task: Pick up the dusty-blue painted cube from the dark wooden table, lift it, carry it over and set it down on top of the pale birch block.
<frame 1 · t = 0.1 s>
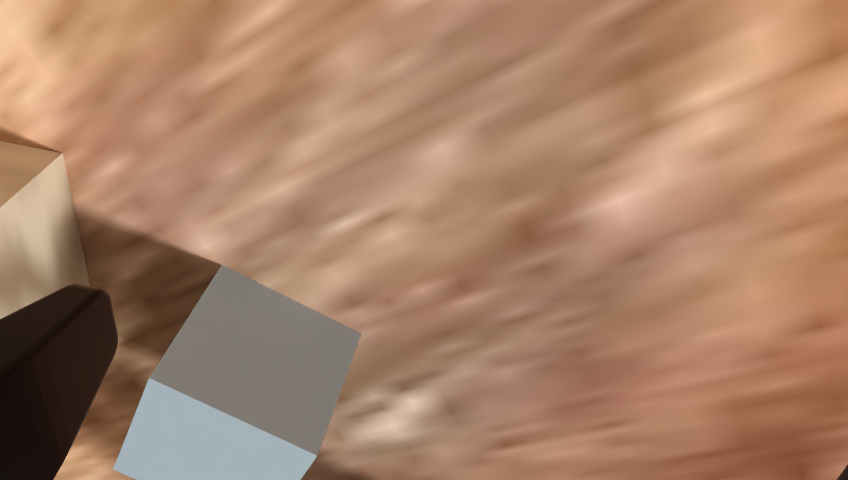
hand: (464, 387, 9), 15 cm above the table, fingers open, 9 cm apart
blue cube: (268, 343, 31), on the table
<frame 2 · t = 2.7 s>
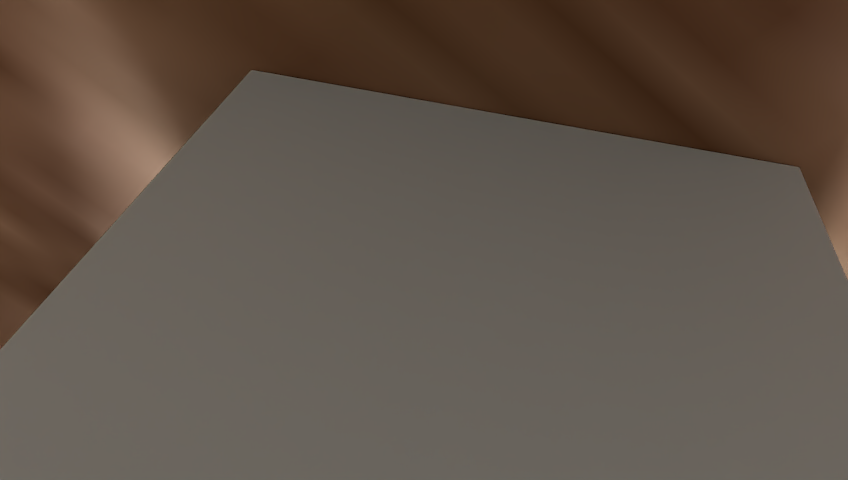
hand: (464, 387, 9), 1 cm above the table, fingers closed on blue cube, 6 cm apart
blue cube: (476, 318, 10), on the table, touching gripper
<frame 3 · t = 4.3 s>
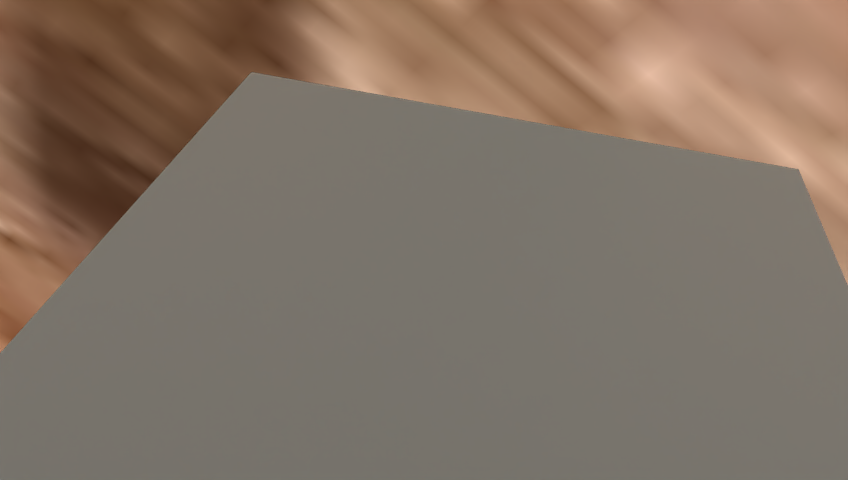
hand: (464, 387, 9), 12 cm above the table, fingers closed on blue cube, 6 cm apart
blue cube: (476, 319, 10), point 11 cm above the table, touching gripper
when the fingers open (7 cm above the table, at t = 6.1 s): blue cube drops 1 cm, resting on birch block.
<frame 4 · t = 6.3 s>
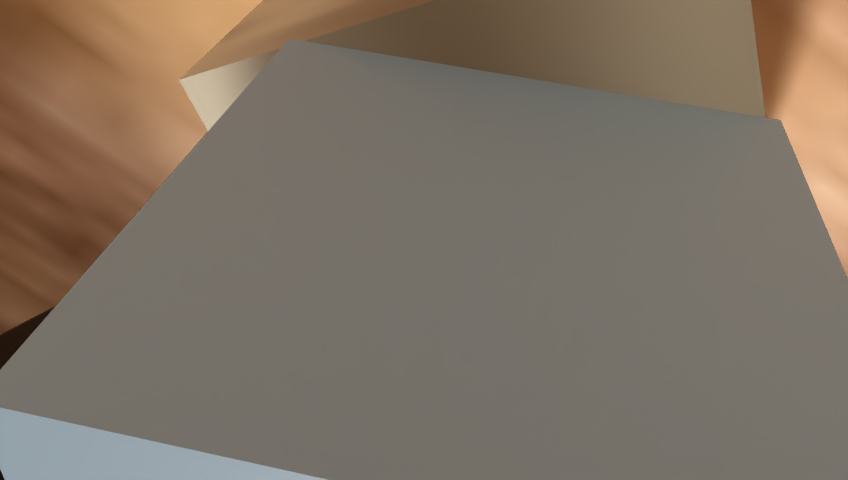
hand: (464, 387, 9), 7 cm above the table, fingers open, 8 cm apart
blue cube: (491, 268, 11), point 5 cm above the table, touching birch block
birch block: (530, 89, 15), on the table, touching blue cube
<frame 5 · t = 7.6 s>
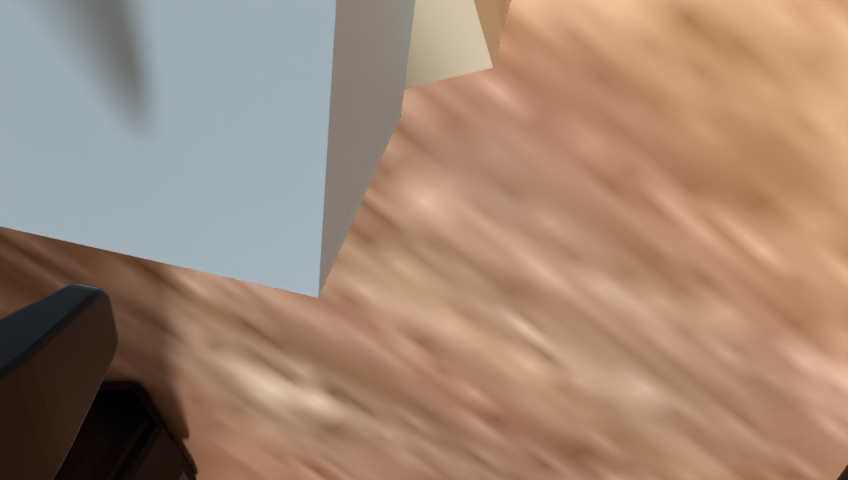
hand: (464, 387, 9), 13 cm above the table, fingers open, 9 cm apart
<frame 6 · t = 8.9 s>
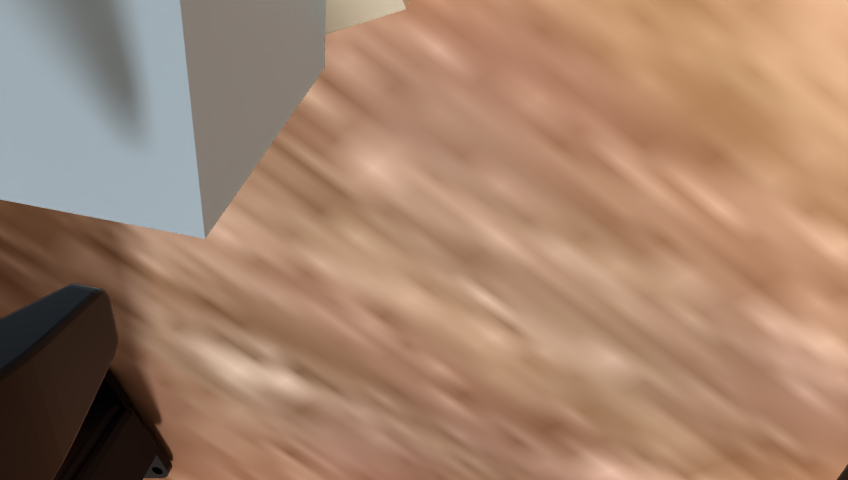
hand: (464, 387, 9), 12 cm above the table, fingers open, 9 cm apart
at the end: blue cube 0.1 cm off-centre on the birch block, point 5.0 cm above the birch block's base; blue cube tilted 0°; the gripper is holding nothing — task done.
